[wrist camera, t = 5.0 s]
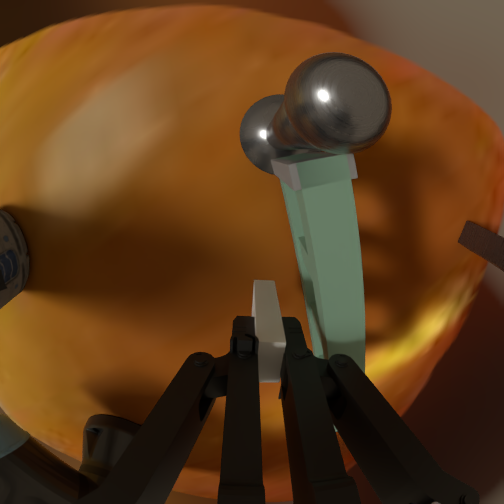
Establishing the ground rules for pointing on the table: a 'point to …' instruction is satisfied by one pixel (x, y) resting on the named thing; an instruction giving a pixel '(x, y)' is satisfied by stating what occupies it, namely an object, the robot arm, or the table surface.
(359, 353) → the gate
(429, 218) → the table surface
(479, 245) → the post
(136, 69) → the table surface
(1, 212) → the beverage bottle
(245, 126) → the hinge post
